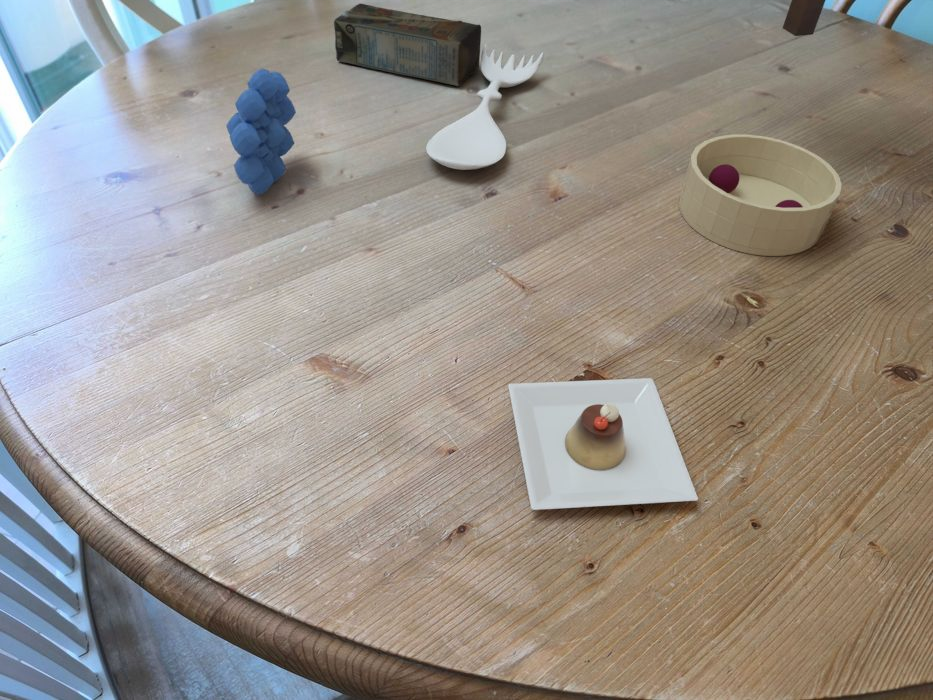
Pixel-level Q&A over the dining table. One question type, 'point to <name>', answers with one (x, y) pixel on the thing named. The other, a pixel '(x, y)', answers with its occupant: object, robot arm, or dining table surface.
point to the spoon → (480, 119)
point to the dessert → (597, 444)
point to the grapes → (262, 130)
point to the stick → (803, 16)
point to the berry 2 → (789, 204)
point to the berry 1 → (724, 177)
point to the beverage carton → (408, 43)
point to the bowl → (759, 195)
